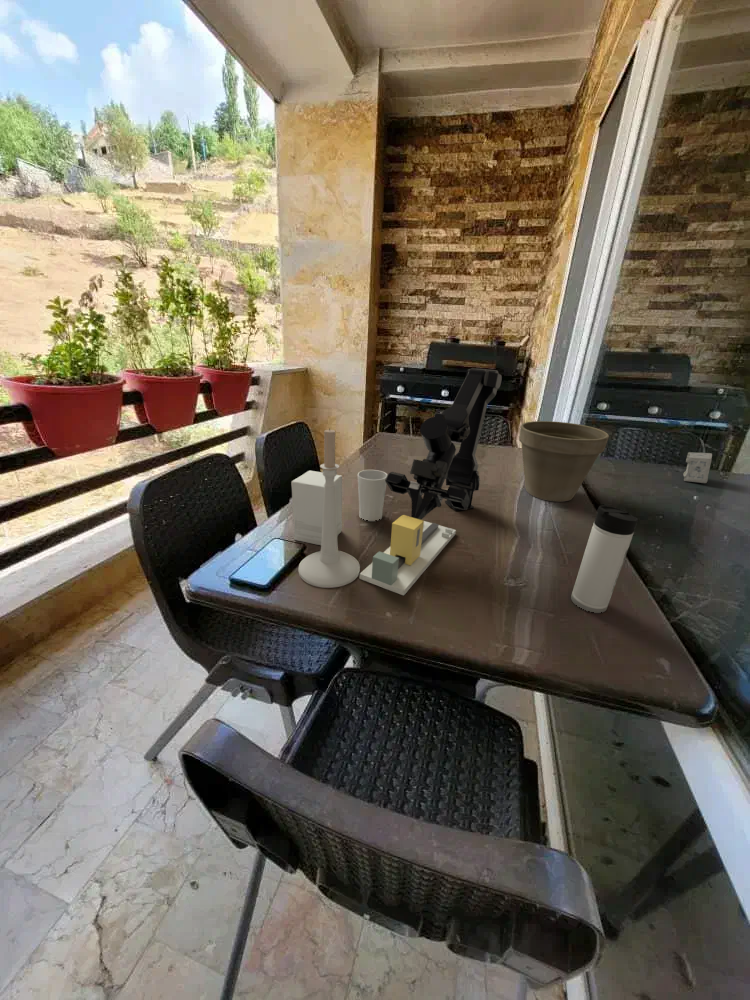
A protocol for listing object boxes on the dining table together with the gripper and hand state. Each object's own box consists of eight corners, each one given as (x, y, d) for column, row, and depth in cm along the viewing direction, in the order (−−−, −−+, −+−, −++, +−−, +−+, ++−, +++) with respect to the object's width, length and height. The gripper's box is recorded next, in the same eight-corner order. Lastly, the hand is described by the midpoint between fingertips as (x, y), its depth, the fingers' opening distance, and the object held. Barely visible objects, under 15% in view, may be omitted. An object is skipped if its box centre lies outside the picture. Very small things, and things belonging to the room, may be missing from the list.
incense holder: (679, 474, 155) (689, 449, 151) (705, 479, 150) (716, 454, 146) (677, 480, 148) (688, 454, 143) (705, 486, 143) (716, 459, 139)
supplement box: (342, 531, 97) (343, 474, 91) (327, 547, 90) (327, 487, 84) (310, 524, 100) (309, 469, 94) (292, 539, 92) (290, 480, 86)
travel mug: (562, 593, 78) (589, 502, 70) (593, 593, 78) (623, 502, 70) (580, 614, 72) (611, 517, 64) (613, 613, 73) (649, 517, 65)
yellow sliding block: (399, 548, 88) (402, 514, 84) (420, 555, 86) (424, 520, 82) (389, 558, 84) (392, 523, 80) (410, 565, 82) (414, 529, 78)
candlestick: (335, 595, 74) (336, 441, 62) (285, 573, 80) (277, 428, 68) (371, 565, 84) (378, 428, 72) (324, 547, 90) (324, 417, 78)
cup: (382, 524, 102) (384, 481, 97) (352, 520, 103) (354, 477, 98) (387, 511, 109) (390, 471, 104) (359, 508, 110) (361, 468, 106)
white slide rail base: (419, 523, 103) (421, 502, 101) (455, 534, 99) (458, 512, 96) (359, 578, 79) (360, 552, 76) (403, 595, 75) (406, 568, 72)
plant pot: (505, 499, 122) (518, 431, 113) (511, 475, 143) (522, 416, 134) (593, 515, 114) (615, 443, 105) (585, 488, 135) (603, 426, 126)
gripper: (391, 437, 86) (363, 498, 82) (473, 452, 78) (447, 521, 73) (404, 462, 96) (379, 518, 91) (478, 478, 87) (456, 541, 83)
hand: (413, 524), depth 84 cm, fingers closed, pressing on yellow sliding block
